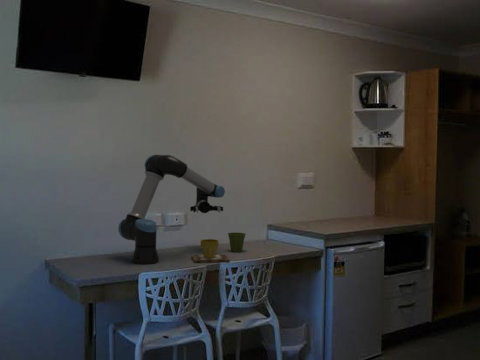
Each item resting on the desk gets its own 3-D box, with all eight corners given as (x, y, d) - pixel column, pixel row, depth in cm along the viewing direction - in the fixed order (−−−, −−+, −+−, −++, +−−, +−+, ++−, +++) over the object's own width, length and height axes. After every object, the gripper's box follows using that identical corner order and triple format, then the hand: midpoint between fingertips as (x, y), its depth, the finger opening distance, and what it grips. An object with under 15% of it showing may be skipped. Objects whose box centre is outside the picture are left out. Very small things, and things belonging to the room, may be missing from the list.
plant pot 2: (249, 251, 327) (249, 233, 326) (236, 253, 319) (236, 235, 318) (236, 248, 335) (237, 231, 335) (223, 250, 327) (223, 233, 327)
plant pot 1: (196, 257, 294) (197, 240, 294) (206, 254, 303) (206, 238, 303) (212, 259, 289) (212, 242, 289) (221, 256, 298) (221, 240, 298)
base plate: (194, 263, 286) (194, 260, 286) (191, 257, 302) (191, 254, 302) (229, 262, 291) (229, 259, 290) (224, 256, 306) (224, 254, 306)
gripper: (223, 212, 328) (229, 216, 307) (184, 212, 323) (187, 216, 302) (223, 201, 328) (229, 204, 307) (184, 200, 323) (187, 203, 302)
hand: (208, 210), depth 305 cm, fingers open, 13 cm apart
